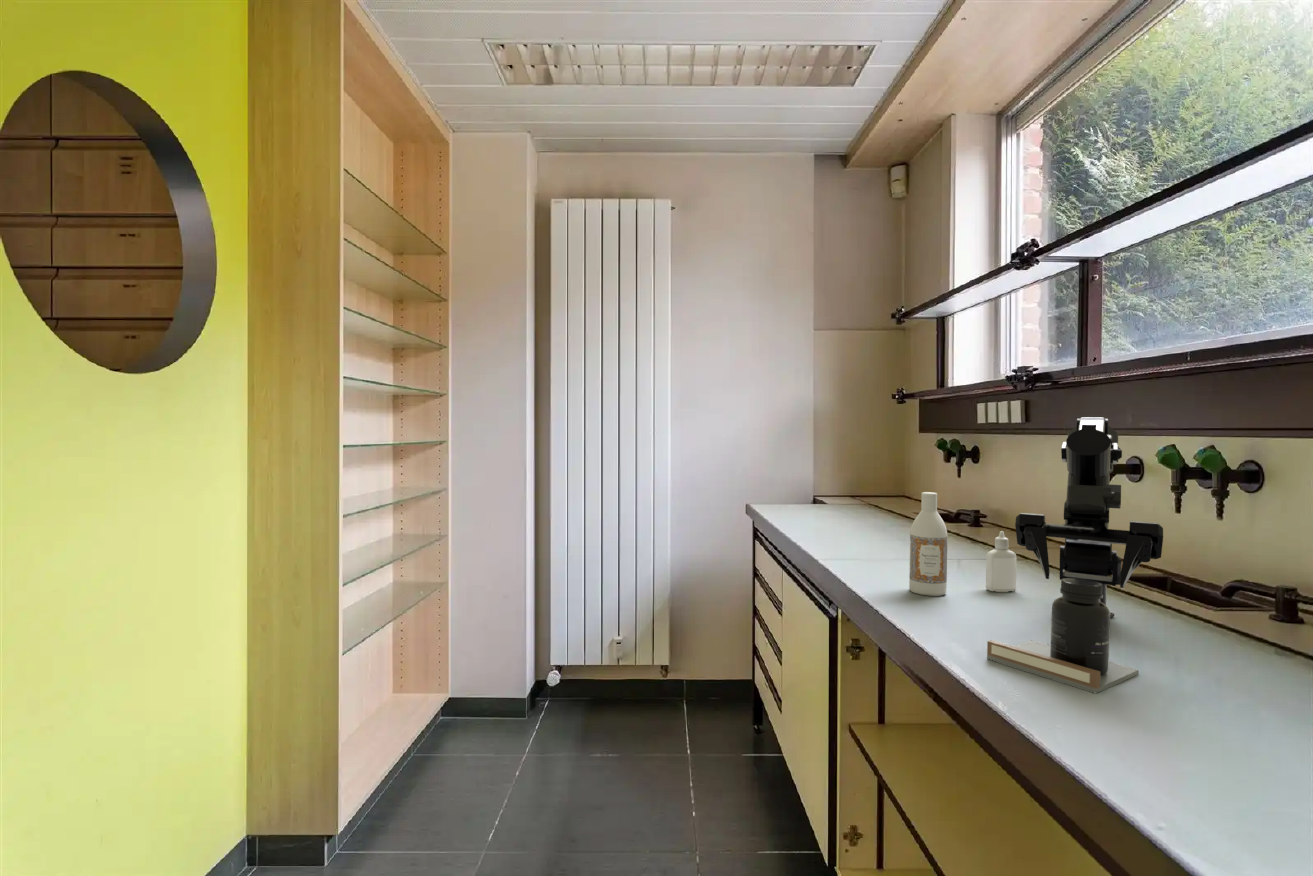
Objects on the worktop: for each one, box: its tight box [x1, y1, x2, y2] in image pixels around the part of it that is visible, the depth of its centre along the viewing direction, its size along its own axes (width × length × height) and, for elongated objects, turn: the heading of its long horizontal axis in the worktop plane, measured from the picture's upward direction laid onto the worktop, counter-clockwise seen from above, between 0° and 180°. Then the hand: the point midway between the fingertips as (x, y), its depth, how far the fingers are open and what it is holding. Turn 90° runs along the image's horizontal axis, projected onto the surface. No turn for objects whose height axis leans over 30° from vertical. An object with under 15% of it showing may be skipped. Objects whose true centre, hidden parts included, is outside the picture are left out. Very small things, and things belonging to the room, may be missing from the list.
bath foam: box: [908, 491, 948, 597], centre depth 135 cm, size 7×7×20 cm
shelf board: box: [986, 639, 1140, 694], centre depth 95 cm, size 12×14×3 cm
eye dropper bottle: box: [985, 530, 1017, 593], centre depth 137 cm, size 4×6×12 cm
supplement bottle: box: [1049, 578, 1111, 676], centre depth 93 cm, size 7×7×12 cm
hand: (1083, 581), depth 99 cm, fingers open, 9 cm apart
